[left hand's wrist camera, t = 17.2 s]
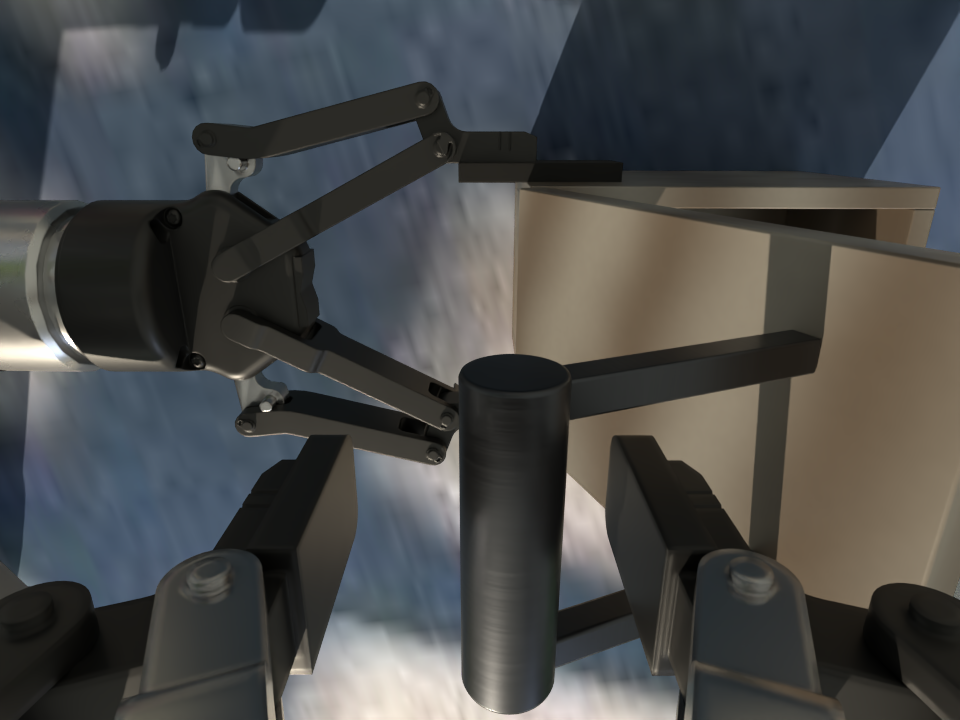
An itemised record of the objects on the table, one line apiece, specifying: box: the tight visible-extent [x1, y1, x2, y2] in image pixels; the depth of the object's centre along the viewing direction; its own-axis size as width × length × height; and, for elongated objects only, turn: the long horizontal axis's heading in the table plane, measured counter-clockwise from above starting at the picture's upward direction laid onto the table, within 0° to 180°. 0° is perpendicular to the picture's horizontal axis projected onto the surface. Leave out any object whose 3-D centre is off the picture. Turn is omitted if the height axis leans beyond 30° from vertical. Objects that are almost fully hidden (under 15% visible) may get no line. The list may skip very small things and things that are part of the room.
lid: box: [459, 187, 960, 715], centre depth 16 cm, size 16×9×8 cm
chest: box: [512, 171, 940, 354], centre depth 29 cm, size 15×9×10 cm, turn 90°
